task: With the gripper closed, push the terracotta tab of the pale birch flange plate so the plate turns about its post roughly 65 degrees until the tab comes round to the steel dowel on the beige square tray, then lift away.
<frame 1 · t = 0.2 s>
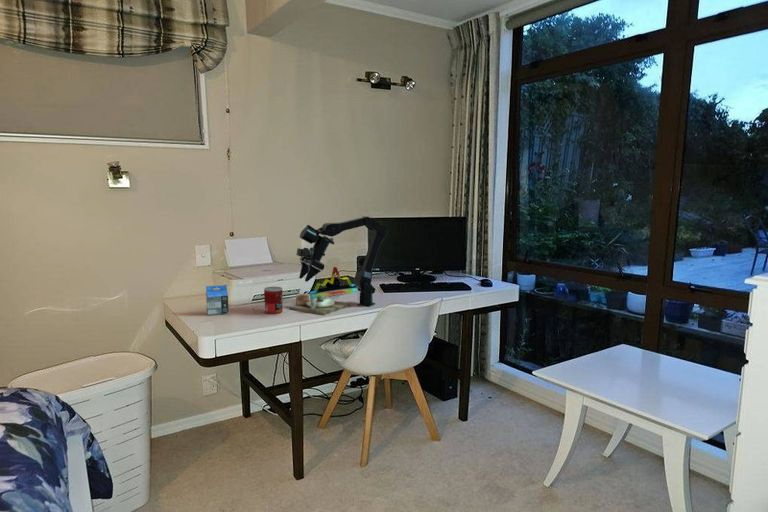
hand: (302, 279, 213), 15 cm above the table, tool tilted 30°, fingers open, 9 cm apart
chart: (331, 296, 249), on the table
label tape cartridge: (217, 314, 212), on the table
beige square tray: (320, 307, 224), on the table
canned food: (273, 312, 215), on the table
flange plate: (315, 299, 224), point 4 cm above the table, hinge at 0.0°
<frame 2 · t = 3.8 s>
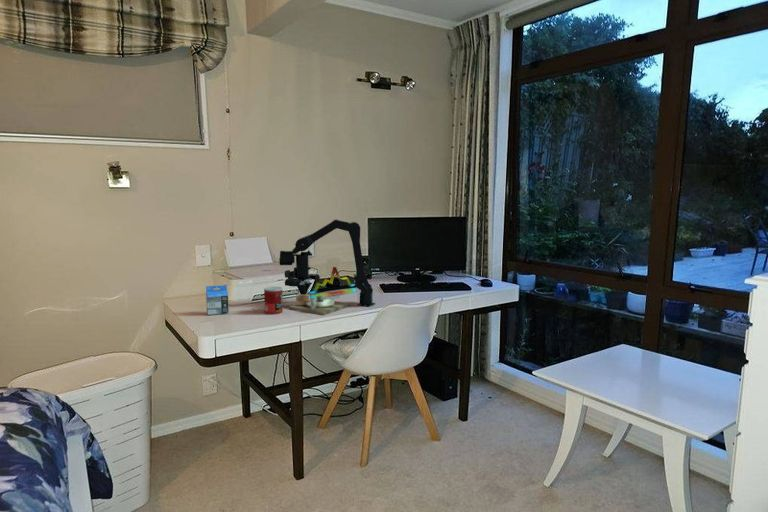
hand: (303, 297, 226), 4 cm above the table, tool pointing down, fingers closed
flange plate: (315, 299, 223), point 4 cm above the table, hinge at 4.3°, touching gripper
everything else where it was.
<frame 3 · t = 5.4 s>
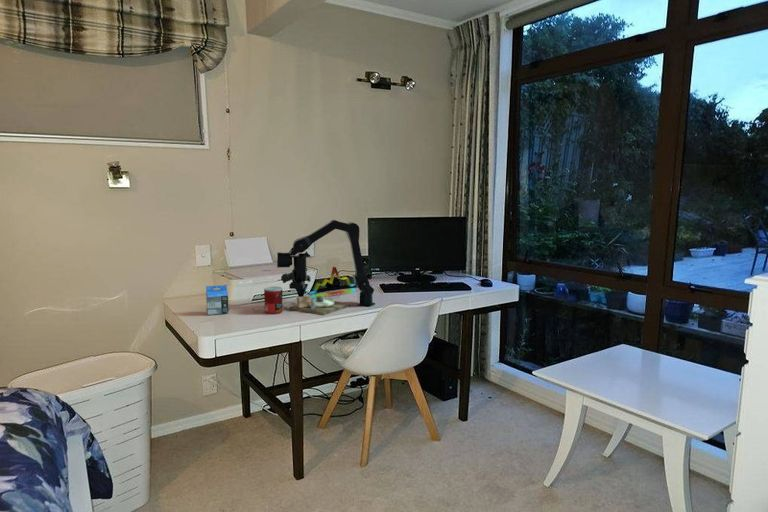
hand: (300, 300, 222), 4 cm above the table, tool pointing down, fingers closed
flange plate: (315, 300, 222), point 4 cm above the table, hinge at 34.8°, touching gripper
everything else where it was.
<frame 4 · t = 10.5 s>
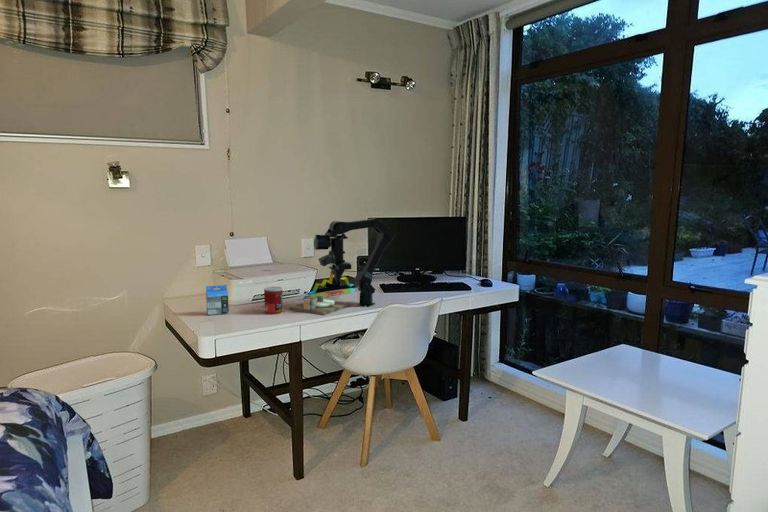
hand: (337, 282, 222), 12 cm above the table, tool pointing down, fingers closed
flange plate: (317, 300, 221), point 4 cm above the table, hinge at 64.7°
everything else where it was.
at the end: flange plate at +65° (first picture: +0°) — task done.
